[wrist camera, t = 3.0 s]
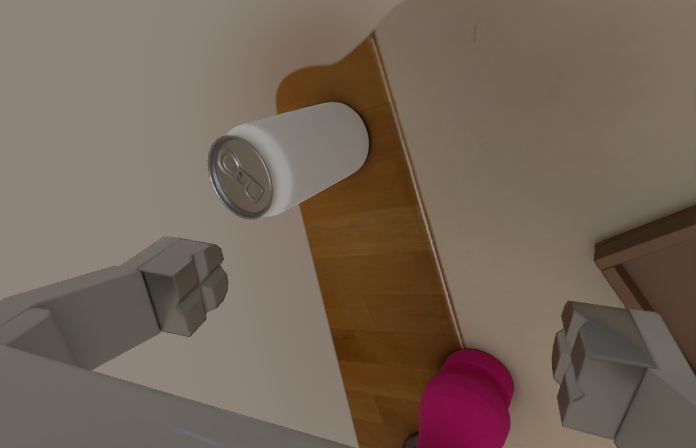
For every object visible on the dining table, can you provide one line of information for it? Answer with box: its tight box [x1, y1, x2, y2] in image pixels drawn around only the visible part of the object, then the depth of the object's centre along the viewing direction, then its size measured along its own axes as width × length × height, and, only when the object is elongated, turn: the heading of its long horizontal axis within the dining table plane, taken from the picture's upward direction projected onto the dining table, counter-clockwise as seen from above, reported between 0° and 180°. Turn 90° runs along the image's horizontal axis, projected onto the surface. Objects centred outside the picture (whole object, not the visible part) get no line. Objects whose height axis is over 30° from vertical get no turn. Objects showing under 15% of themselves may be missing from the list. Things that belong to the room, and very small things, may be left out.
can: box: [208, 102, 369, 219], centre depth 30 cm, size 6×6×12 cm
